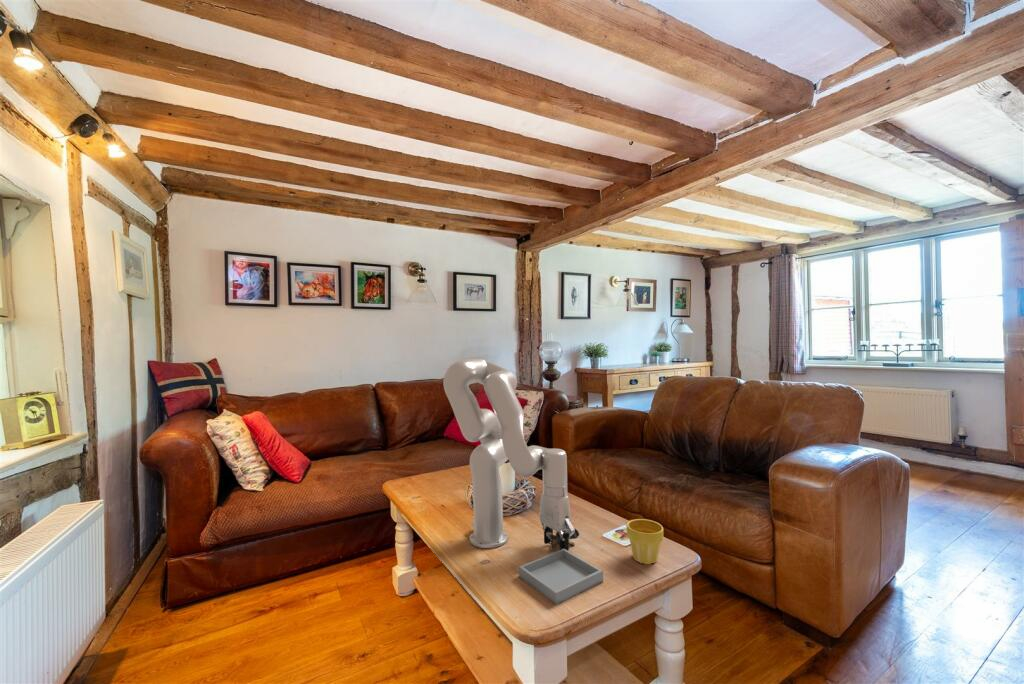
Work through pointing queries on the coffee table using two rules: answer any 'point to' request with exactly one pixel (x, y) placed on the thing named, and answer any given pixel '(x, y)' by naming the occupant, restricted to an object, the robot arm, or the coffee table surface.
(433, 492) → the coffee table surface
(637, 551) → the plant pot
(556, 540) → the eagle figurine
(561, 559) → the bin
